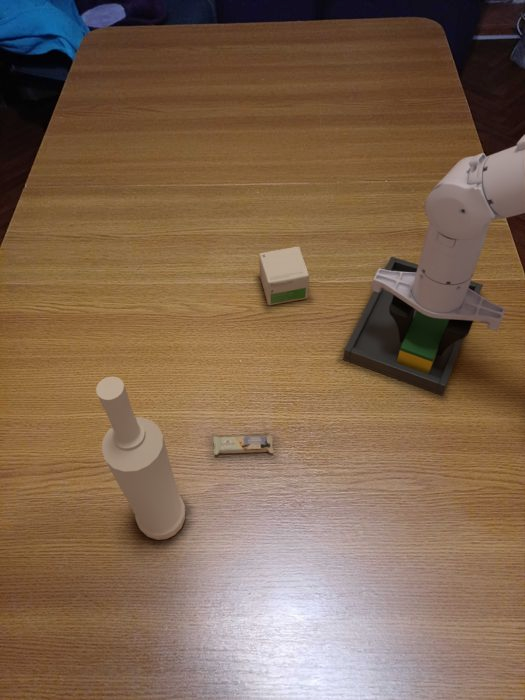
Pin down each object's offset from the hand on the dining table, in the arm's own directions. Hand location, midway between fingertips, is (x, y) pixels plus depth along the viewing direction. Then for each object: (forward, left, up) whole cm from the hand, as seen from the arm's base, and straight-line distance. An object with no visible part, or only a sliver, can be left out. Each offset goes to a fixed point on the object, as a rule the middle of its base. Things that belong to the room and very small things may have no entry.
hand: (422, 343), depth 76 cm
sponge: (0, 0, -1) cm, 1 cm away
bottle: (+18, +32, -2) cm, 37 cm away
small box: (+20, -3, -2) cm, 20 cm away
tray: (+2, -4, -2) cm, 4 cm away
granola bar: (+14, +21, -2) cm, 26 cm away
